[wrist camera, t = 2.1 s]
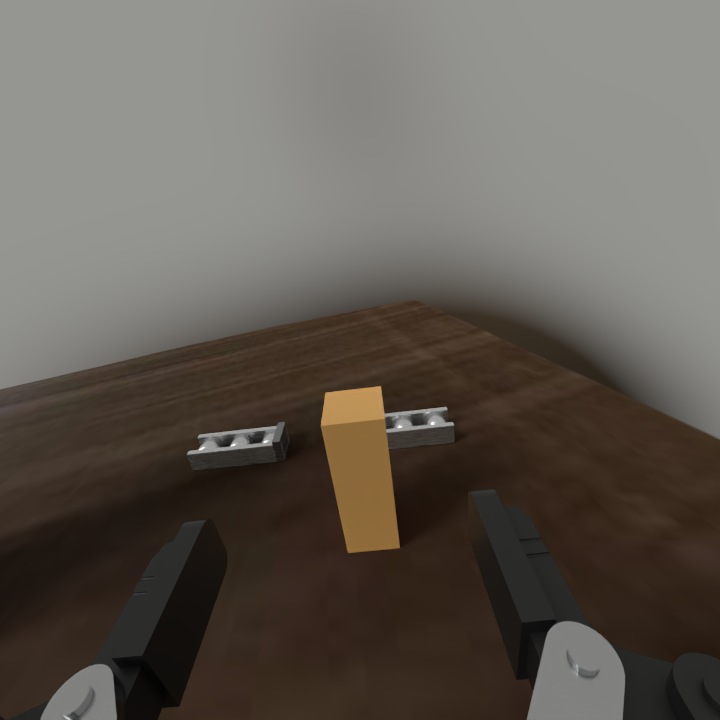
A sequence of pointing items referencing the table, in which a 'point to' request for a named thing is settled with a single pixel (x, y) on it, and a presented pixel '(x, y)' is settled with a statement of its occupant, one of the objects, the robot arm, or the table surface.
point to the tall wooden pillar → (361, 468)
